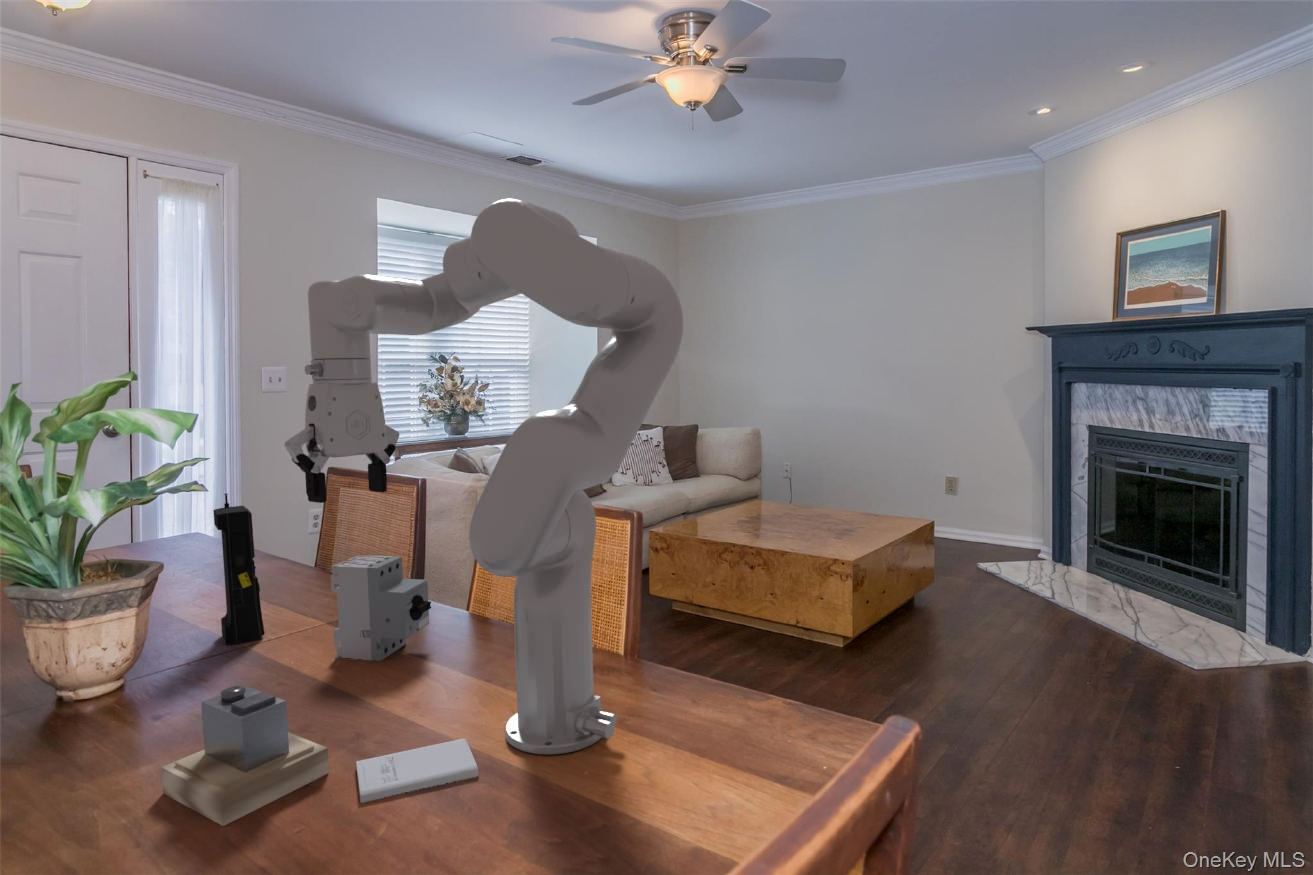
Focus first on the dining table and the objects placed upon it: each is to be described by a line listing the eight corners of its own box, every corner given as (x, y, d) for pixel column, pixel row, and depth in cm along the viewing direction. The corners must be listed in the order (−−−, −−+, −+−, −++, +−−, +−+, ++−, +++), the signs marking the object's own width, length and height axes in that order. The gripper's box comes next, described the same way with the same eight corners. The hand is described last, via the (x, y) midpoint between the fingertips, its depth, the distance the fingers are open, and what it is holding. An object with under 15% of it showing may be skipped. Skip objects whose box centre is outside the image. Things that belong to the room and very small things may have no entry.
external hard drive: (478, 781, 87) (360, 807, 82) (465, 749, 95) (356, 772, 90) (478, 767, 87) (359, 793, 82) (465, 736, 94) (355, 758, 89)
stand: (328, 772, 88) (327, 744, 88) (223, 826, 78) (220, 793, 78) (268, 747, 95) (266, 720, 94) (163, 793, 85) (160, 763, 84)
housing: (289, 752, 86) (285, 693, 86) (245, 772, 82) (240, 710, 81) (248, 735, 91) (245, 679, 90) (204, 753, 86) (200, 694, 86)
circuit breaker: (416, 663, 122) (412, 569, 120) (335, 658, 124) (330, 566, 123) (439, 646, 129) (435, 557, 128) (362, 641, 132) (357, 555, 130)
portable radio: (266, 640, 133) (257, 496, 131) (226, 648, 130) (216, 500, 128) (260, 628, 140) (251, 490, 138) (221, 635, 136) (212, 494, 134)
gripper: (300, 373, 97) (308, 508, 99) (411, 371, 112) (416, 489, 113) (266, 374, 101) (274, 504, 103) (377, 372, 116) (382, 486, 117)
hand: (348, 496), depth 108 cm, fingers open, 9 cm apart
